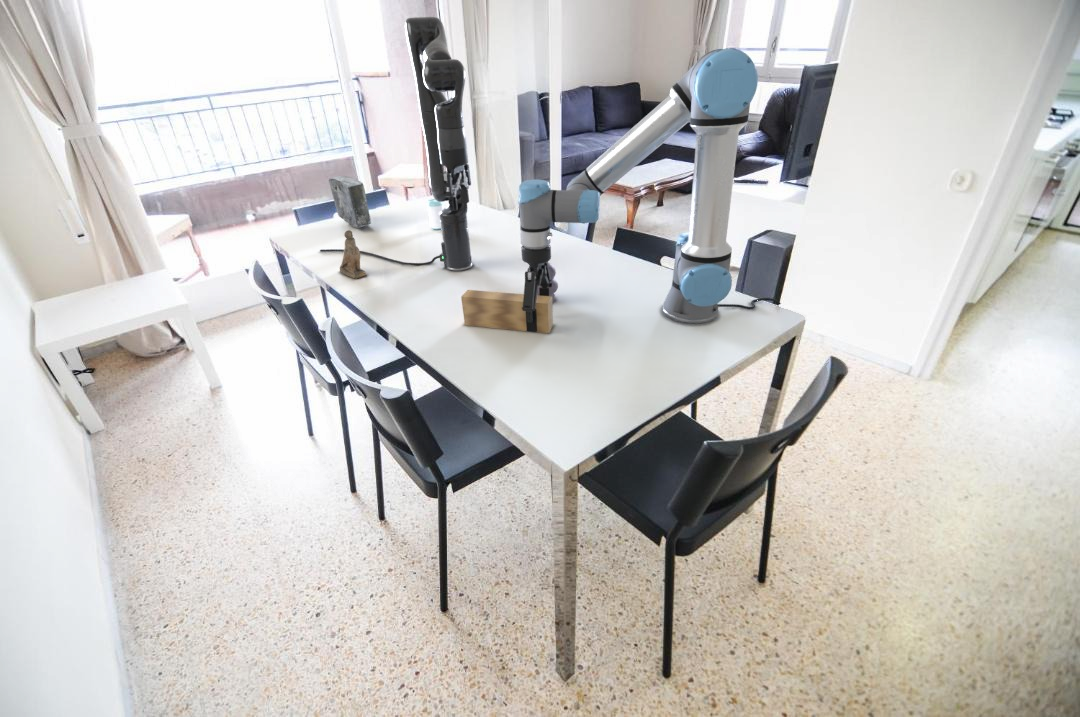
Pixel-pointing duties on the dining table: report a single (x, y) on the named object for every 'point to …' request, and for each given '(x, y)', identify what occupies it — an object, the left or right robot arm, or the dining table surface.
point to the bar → (504, 310)
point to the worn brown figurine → (351, 258)
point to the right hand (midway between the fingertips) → (538, 319)
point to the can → (435, 213)
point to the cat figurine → (553, 281)
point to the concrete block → (350, 200)
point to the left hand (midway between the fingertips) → (459, 206)
